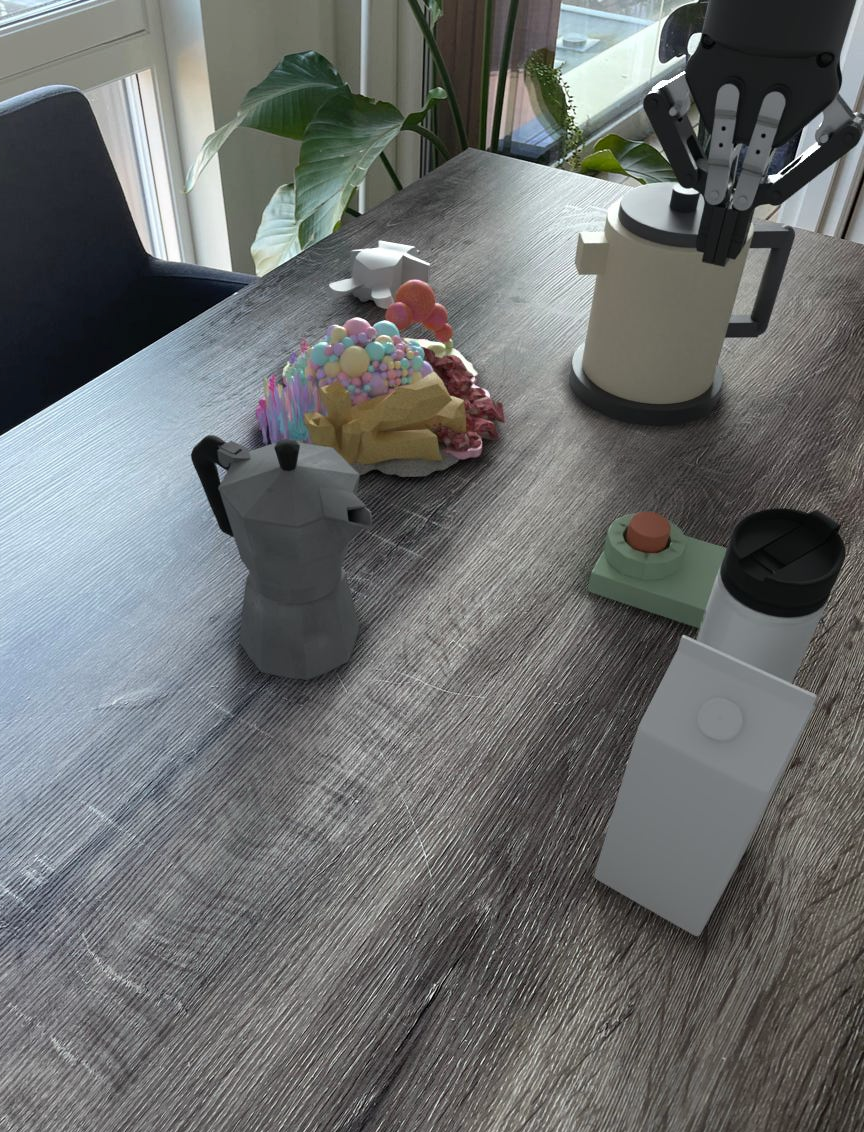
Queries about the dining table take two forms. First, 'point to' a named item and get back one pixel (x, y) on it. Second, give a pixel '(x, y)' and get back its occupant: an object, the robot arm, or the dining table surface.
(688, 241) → the kettle
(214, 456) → the coffeepot
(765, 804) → the milk carton
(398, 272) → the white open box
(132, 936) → the dining table surface
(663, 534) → the red button cap
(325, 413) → the pastel sphere sculpture
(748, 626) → the travel mug
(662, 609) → the button base
